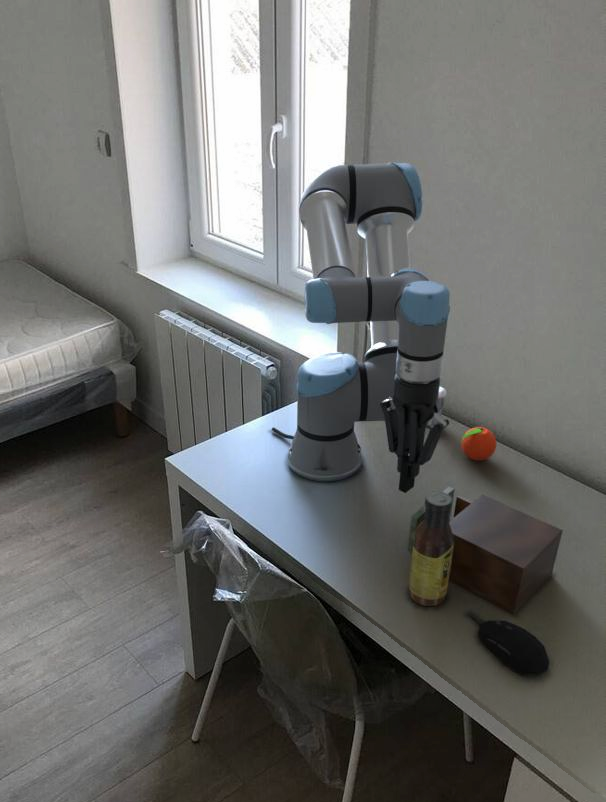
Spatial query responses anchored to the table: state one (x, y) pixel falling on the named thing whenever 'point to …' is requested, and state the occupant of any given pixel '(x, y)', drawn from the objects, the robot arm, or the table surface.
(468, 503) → the drawer
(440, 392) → the salt shaker
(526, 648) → the gaming mouse
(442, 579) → the sauce bottle
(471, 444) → the clementine
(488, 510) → the cabinet
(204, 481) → the table surface
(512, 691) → the table surface
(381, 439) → the table surface
